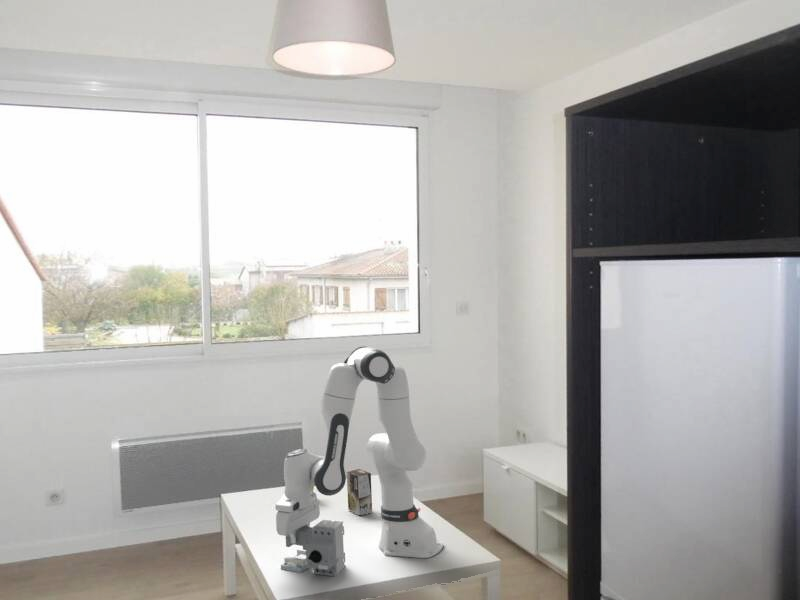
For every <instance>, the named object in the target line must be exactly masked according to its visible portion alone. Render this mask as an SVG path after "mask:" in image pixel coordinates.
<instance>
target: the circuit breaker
mask: <svg viewBox="0 0 800 600" xmlns="http://www.w3.org/2000/svg"><path fill="white" fill-rule="evenodd" d="M343 524H344V521H339V520H334V521H332V520H329V519H328V520H327V519H322V520H320V521H319V522H318V523H316V524H315V525H313V527H312V540H311V541H310V542H308V543H307V544H306V563H307V569H313V574H314V575H321V576H329V577H330V576H331V577H336V576H337V575H338V574H339V573H340V572H341V571H342V570H343V569H344V568H346V565H345V563H346V552H345V551H344V535H345V526H343Z"/></svg>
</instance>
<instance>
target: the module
mask: <svg viewBox="0 0 800 600" xmlns="http://www.w3.org/2000/svg"><path fill="white" fill-rule="evenodd" d="M295 535H296V537H298V542H297V543H295V544H293V543H291V538H290V536H289V535H287V536H285V547H286V548H290V547H292V546H295V545H296V546H301V547H302V549H303V550H306V544H307V543H308V542H310V541H311V540H312V527H311V526H310V527H305V526H303V527H301V528H300V529H298V530H296V534H295Z"/></svg>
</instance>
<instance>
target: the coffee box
mask: <svg viewBox="0 0 800 600" xmlns="http://www.w3.org/2000/svg"><path fill="white" fill-rule="evenodd" d="M371 475H372V473H371V472H368V471H366V470H363V469H360V468H359V469H354V470H351V471H350V470H349V471H346V487H347V507H348V509H347V510H350V511H352V512H354V513H356V514H358V515H362V516H364V515H363V514H366V515H369V514H368V513H370V514H372V513H373V500H372V499H373V498H372V476H371ZM350 511H349V512H350ZM352 512H351V513H352ZM371 512H372V513H371ZM354 513H353V514H354ZM356 514H355V515H356ZM358 515H357V516H358Z"/></svg>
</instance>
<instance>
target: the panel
mask: <svg viewBox="0 0 800 600" xmlns="http://www.w3.org/2000/svg"><path fill="white" fill-rule="evenodd" d="M283 559H284V560H283V561H284V562H283V563H282V564H280V569H281V568H284V569H283V570H286V569H288V570H287V571H291V570H292V571H291V572H296V573H302V572H304V571H305V570H306V569H308V568H307V563H306V550H303V548H297V549H296V555H294V556H293V557H292V556H287V555H286V556H284V558H283Z"/></svg>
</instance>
